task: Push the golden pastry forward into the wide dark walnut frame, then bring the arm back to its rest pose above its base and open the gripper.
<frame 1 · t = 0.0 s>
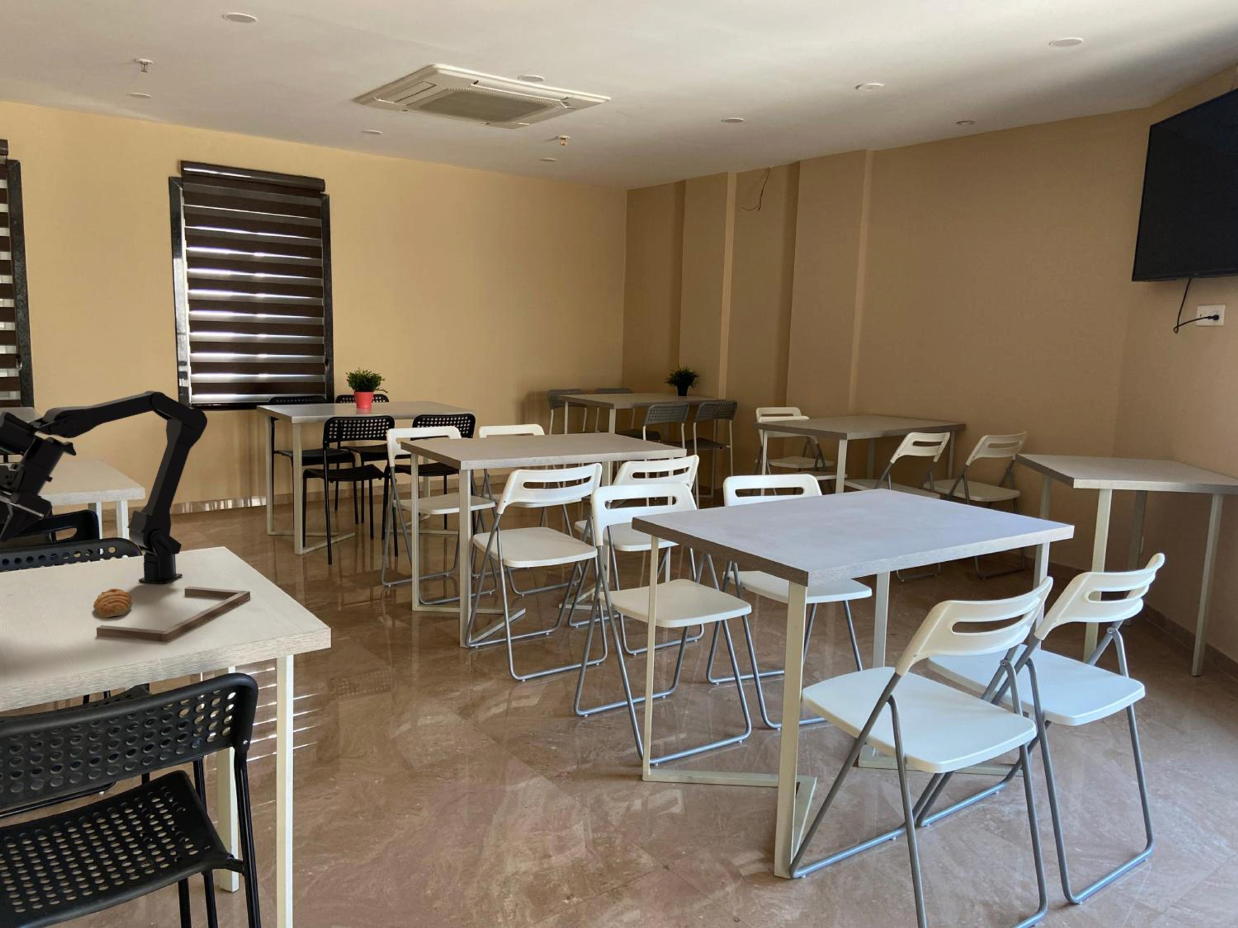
walnut frame: (176, 615, 176), on the table
pastry: (114, 612, 178), on the table
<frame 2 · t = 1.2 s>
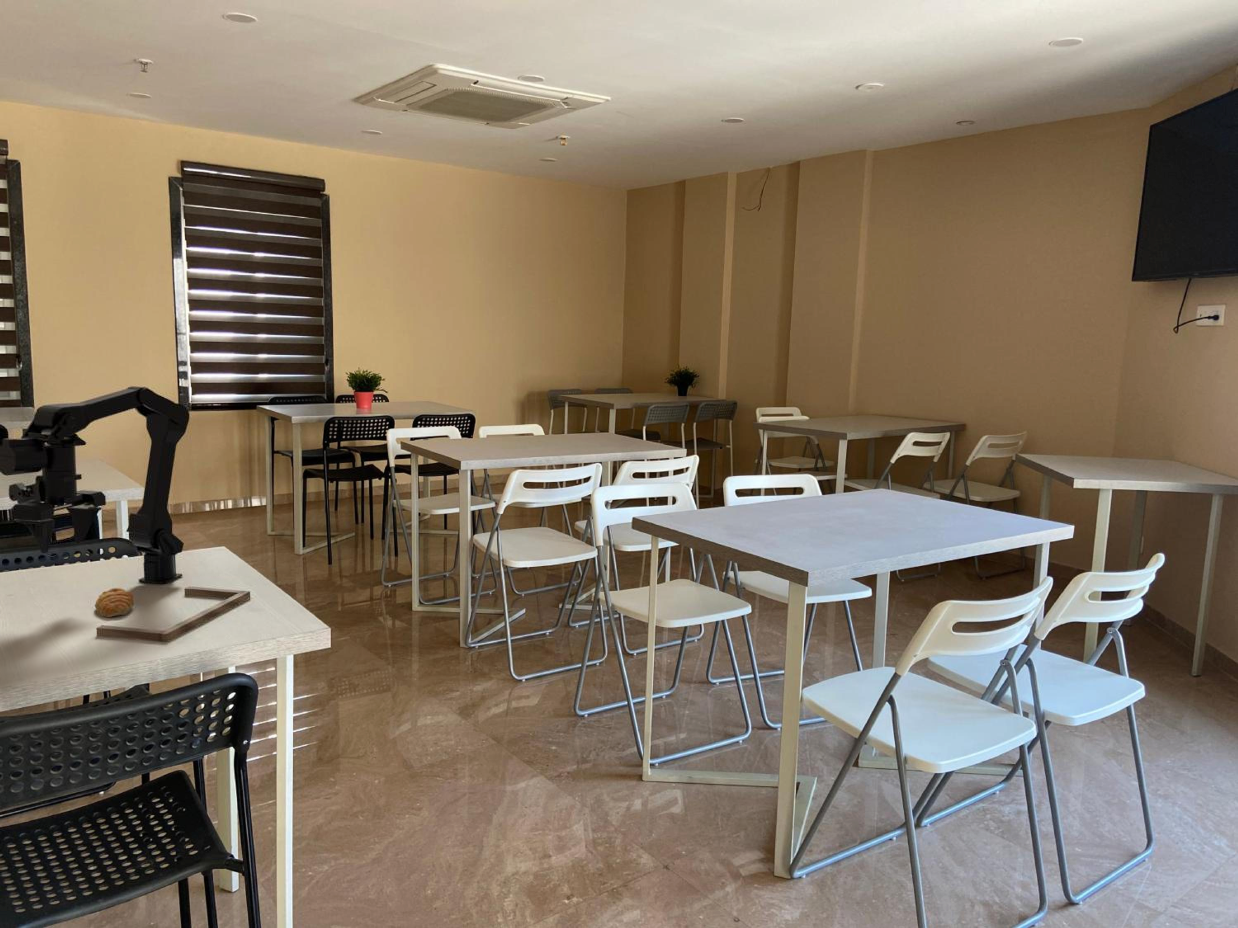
hand: (62, 547, 177), 12 cm above the table, tool pointing down, fingers open, 9 cm apart
nothing on the table moved.
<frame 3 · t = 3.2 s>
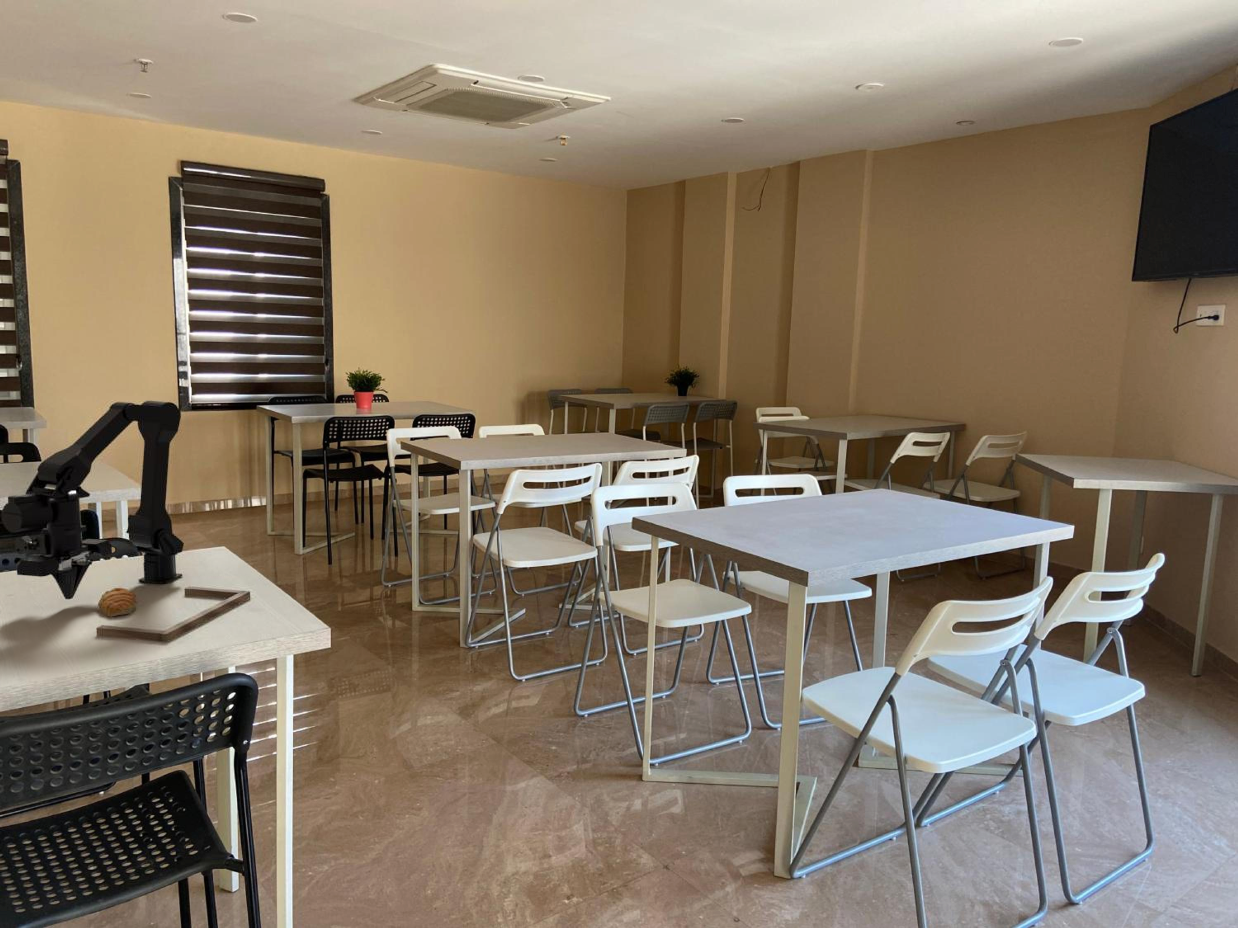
hand: (69, 598, 179), 2 cm above the table, tool pointing down, fingers closed
nothing on the table moved.
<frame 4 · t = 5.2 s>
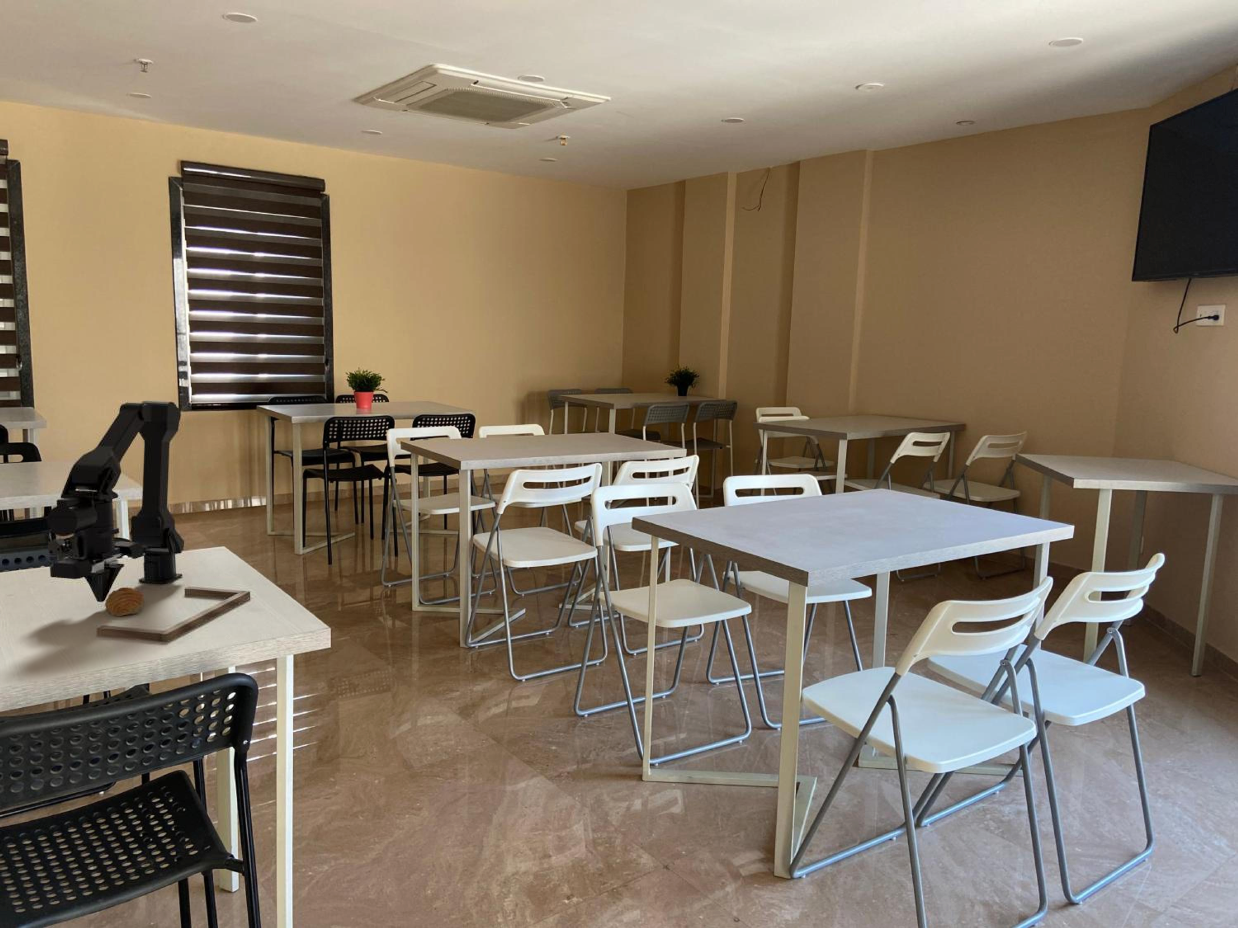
hand: (100, 601, 178), 2 cm above the table, tool pointing down, fingers closed
pastry: (126, 610, 179), on the table, touching gripper
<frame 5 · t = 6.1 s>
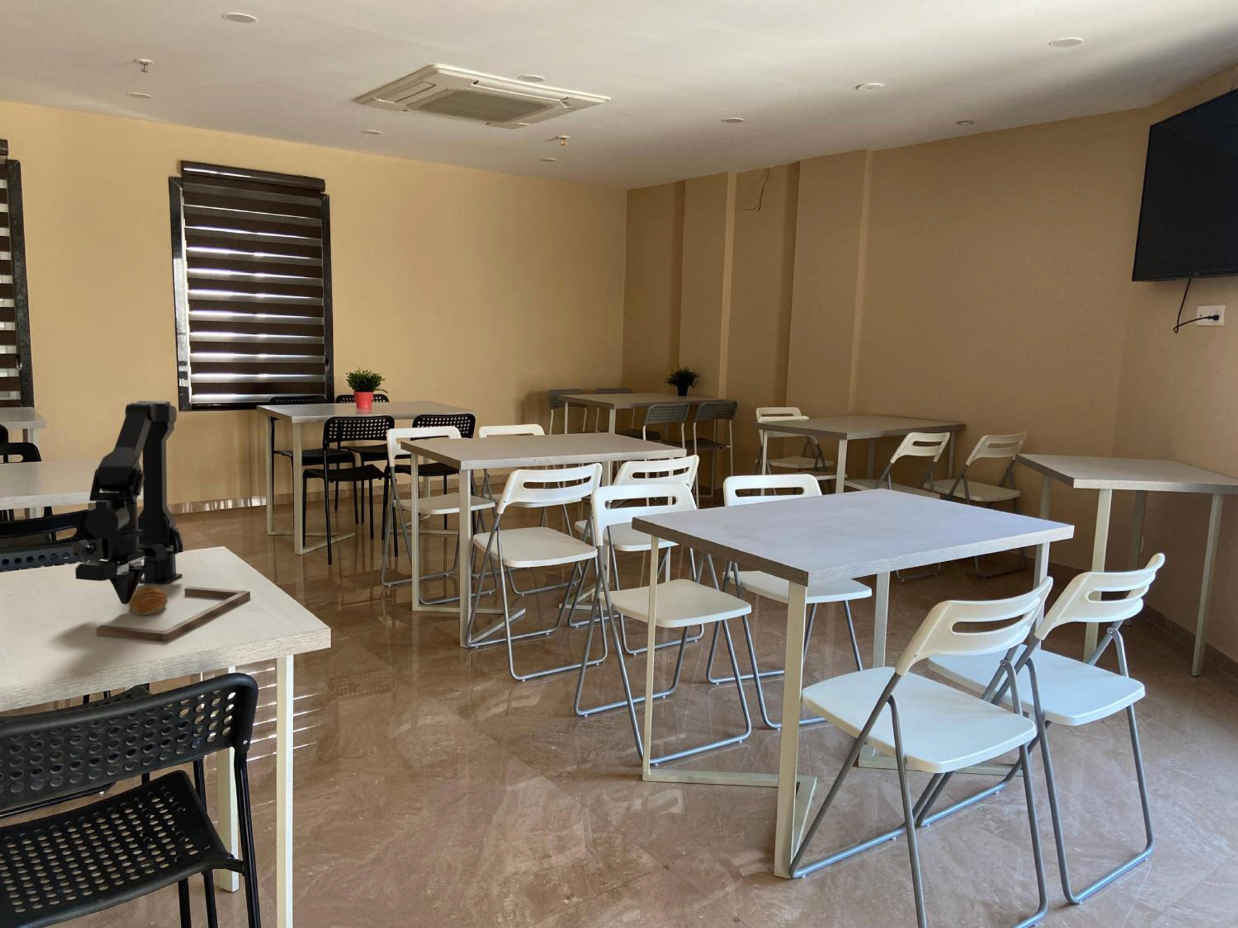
hand: (125, 603, 177), 2 cm above the table, tool pointing down, fingers closed
pastry: (150, 610, 180), on the table, touching gripper
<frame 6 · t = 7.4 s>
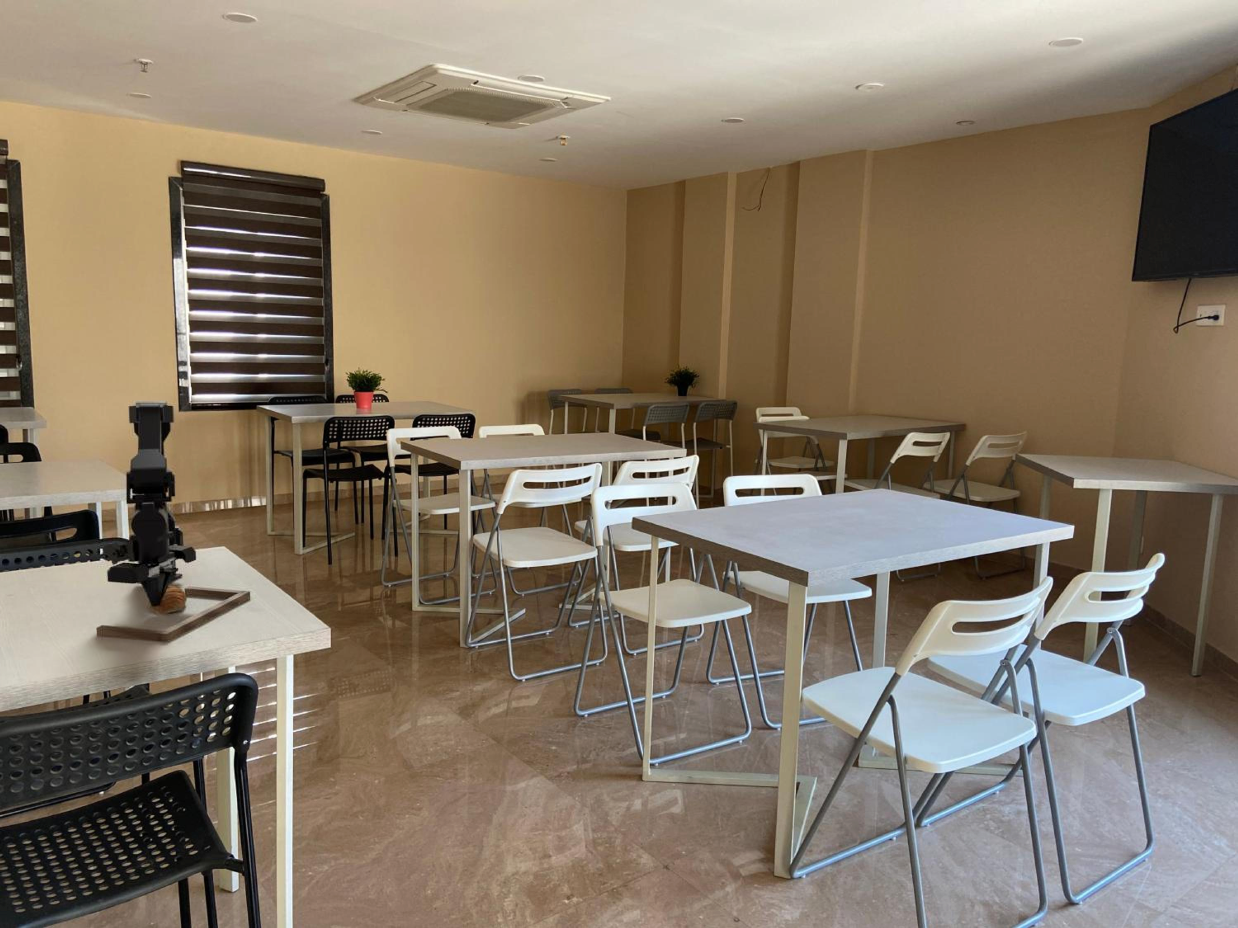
hand: (155, 606, 176), 2 cm above the table, tool pointing down, fingers closed
pastry: (169, 608, 181), on the table
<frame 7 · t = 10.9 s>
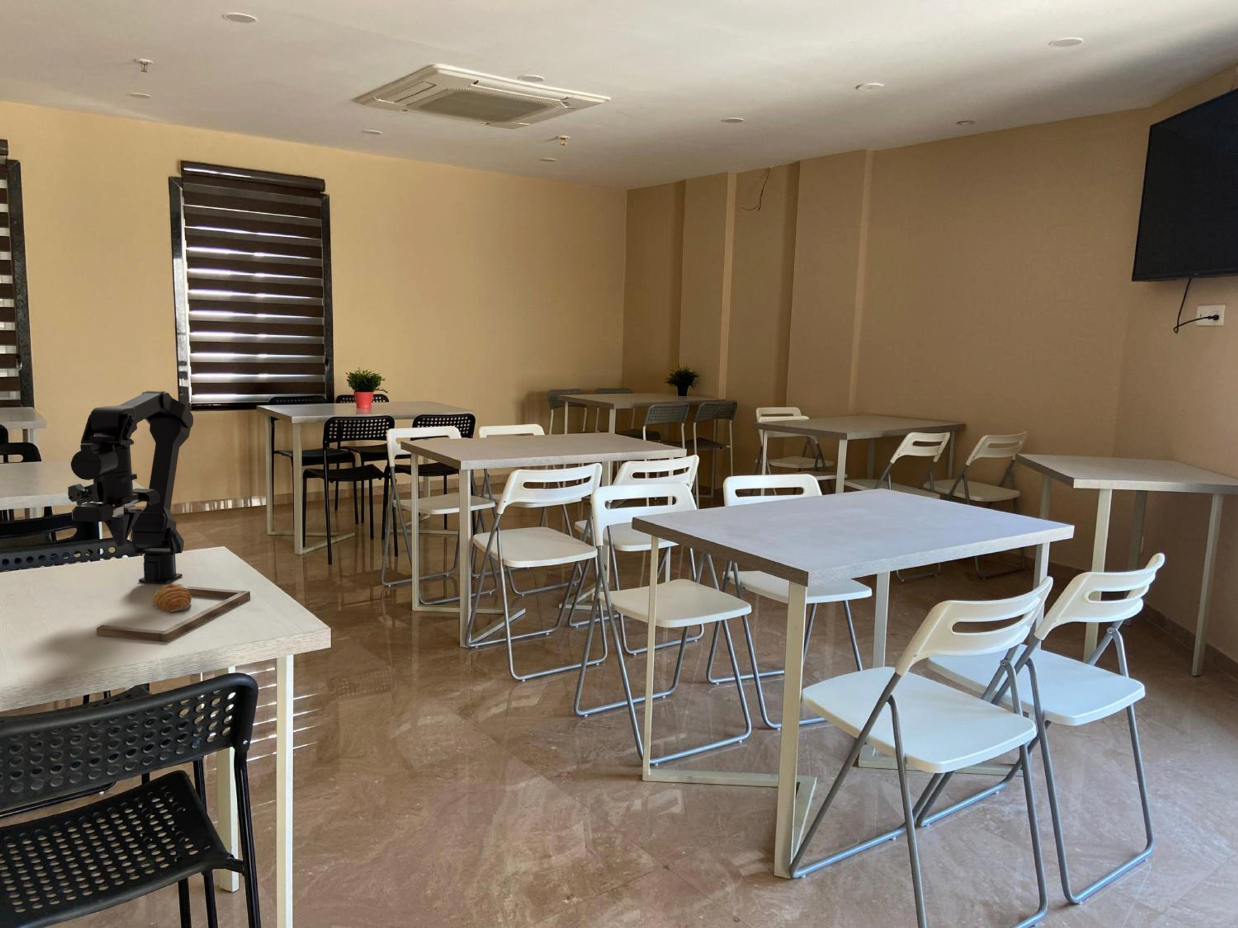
hand: (120, 545, 182), 12 cm above the table, tool pointing down, fingers closed
pastry: (174, 607, 182), on the table
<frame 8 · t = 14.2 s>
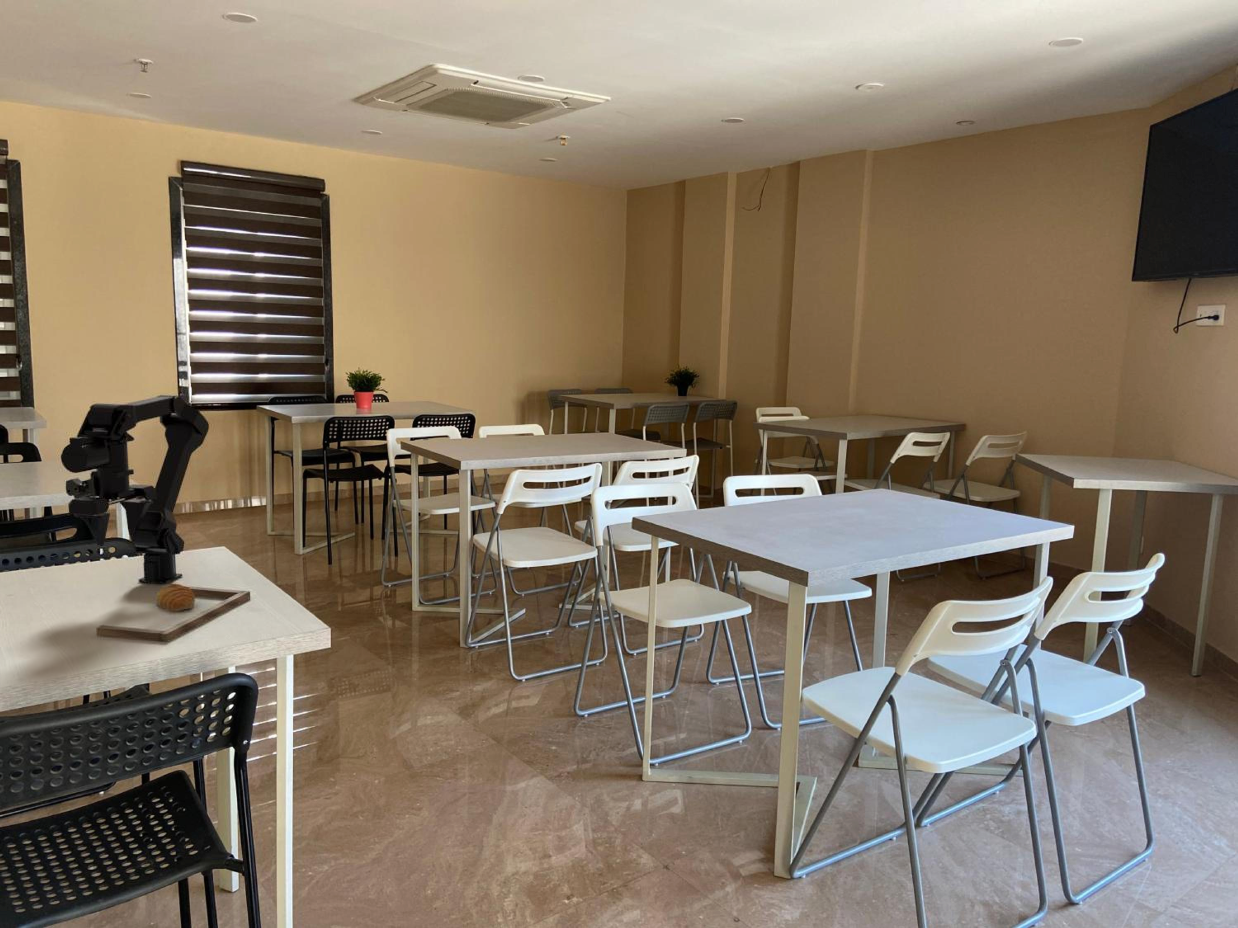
hand: (116, 540, 185), 12 cm above the table, tool pointing down, fingers open, 9 cm apart
nothing on the table moved.
at the end: pastry inside the target area on the walnut frame (8.0 cm from its centre), point -0.5 cm above the walnut frame's base; pastry moved 11.3 cm from its start; the gripper is holding nothing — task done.
